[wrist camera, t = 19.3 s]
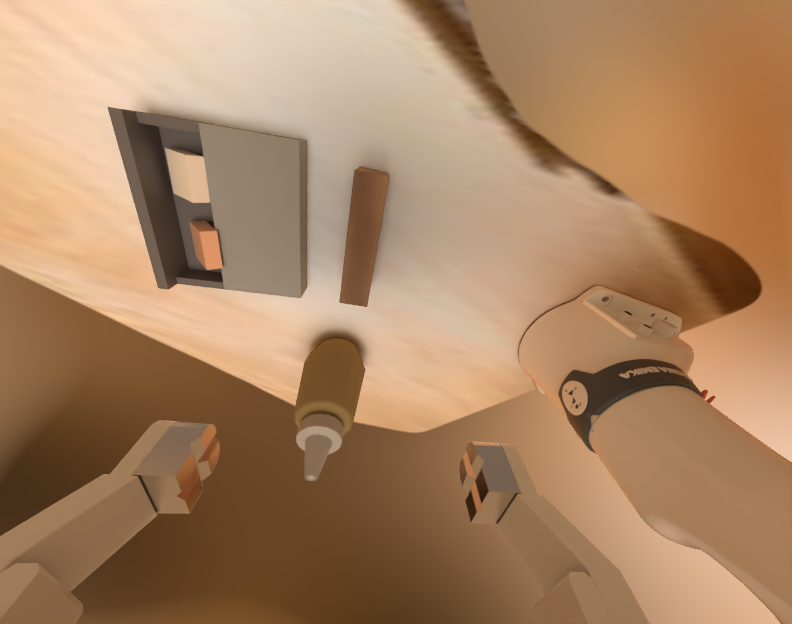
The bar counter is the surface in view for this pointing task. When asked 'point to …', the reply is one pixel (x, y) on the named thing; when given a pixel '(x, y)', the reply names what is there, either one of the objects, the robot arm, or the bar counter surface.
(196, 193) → the tile cream
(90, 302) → the bar counter surface
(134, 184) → the grey tray with lip
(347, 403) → the squeeze bottle
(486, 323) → the bar counter surface
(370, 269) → the long wooden plank
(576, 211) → the bar counter surface
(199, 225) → the tile terracotta
